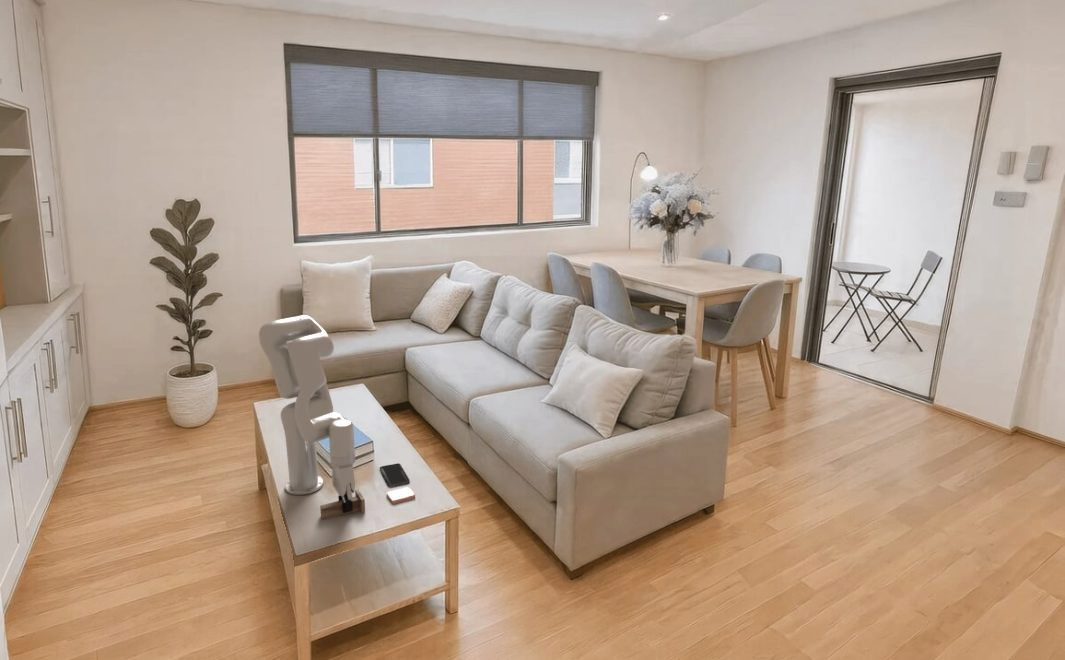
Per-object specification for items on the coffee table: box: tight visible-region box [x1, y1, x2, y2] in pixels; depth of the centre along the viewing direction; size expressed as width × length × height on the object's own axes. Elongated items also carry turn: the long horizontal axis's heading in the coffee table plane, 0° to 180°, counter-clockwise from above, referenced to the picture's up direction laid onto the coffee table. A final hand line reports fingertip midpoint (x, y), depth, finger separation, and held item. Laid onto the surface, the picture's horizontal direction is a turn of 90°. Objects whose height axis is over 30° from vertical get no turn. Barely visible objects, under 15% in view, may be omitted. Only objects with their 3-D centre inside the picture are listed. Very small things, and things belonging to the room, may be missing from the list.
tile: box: [386, 486, 416, 505], centre depth 215 cm, size 6×2×8 cm
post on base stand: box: [319, 489, 366, 521], centre depth 204 cm, size 7×13×5 cm, turn 122°
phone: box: [379, 463, 411, 488], centre depth 229 cm, size 8×1×15 cm
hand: (345, 508), depth 205 cm, fingers open, 3 cm apart
